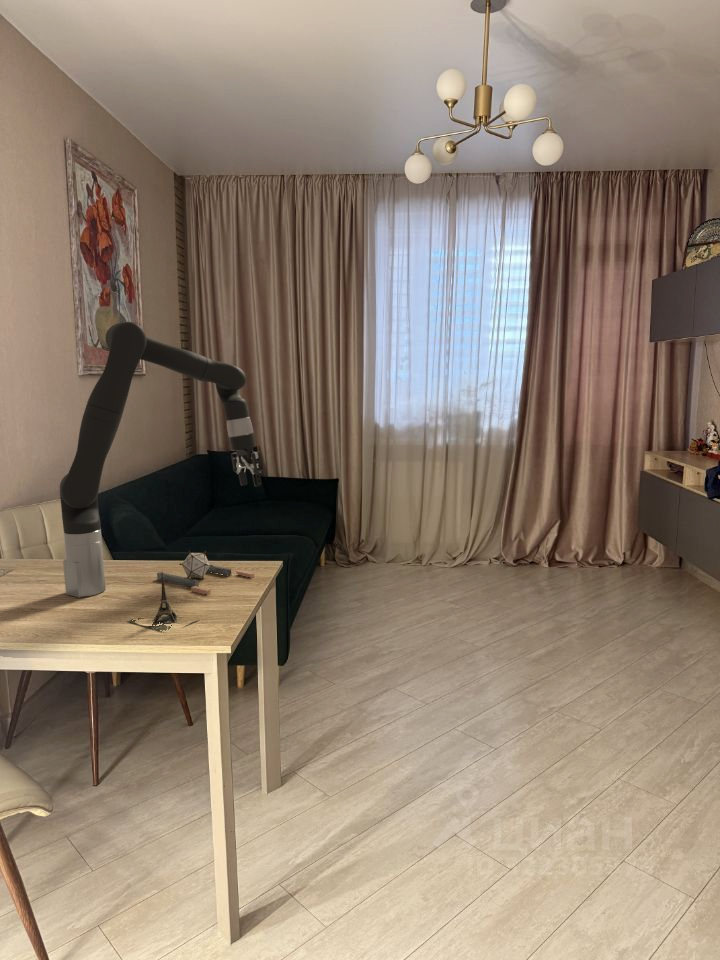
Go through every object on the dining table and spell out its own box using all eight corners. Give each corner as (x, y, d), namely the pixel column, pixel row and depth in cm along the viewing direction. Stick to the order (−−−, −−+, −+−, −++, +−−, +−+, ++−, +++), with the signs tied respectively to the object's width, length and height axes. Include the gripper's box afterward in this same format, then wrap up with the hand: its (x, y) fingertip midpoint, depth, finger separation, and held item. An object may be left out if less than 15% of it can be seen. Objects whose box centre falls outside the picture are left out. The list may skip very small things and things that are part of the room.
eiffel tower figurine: (125, 623, 150) (121, 569, 148) (159, 610, 158) (155, 559, 156) (167, 636, 142) (164, 579, 140) (201, 621, 150) (198, 568, 148)
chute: (195, 588, 174) (195, 581, 174) (157, 579, 183) (156, 573, 182) (231, 575, 185) (231, 569, 185) (194, 567, 194) (193, 561, 194)
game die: (203, 588, 185) (222, 560, 187) (193, 587, 177) (213, 557, 178) (180, 572, 187) (199, 544, 189) (168, 570, 179) (188, 540, 180)
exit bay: (207, 595, 168) (206, 590, 168) (191, 591, 172) (191, 587, 171) (254, 577, 183) (254, 573, 183) (239, 574, 187) (239, 570, 187)
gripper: (219, 436, 193) (229, 487, 196) (241, 434, 182) (252, 489, 185) (240, 432, 198) (250, 482, 201) (263, 430, 187) (273, 483, 190)
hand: (251, 485), depth 193 cm, fingers open, 8 cm apart
